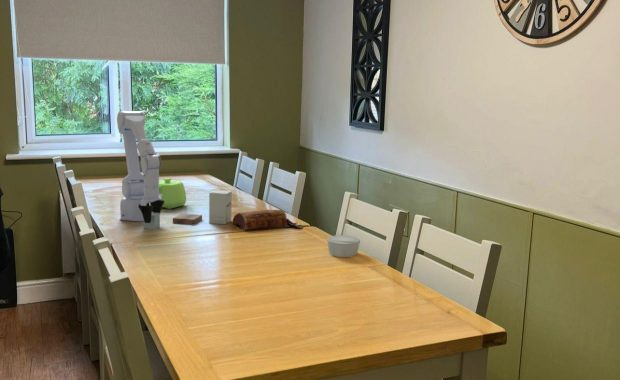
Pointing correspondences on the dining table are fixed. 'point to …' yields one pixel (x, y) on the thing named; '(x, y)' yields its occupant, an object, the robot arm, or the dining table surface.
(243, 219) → the cured meat
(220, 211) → the supplement box
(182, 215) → the walnut slab
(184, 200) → the teapot
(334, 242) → the ramekin
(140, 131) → the robot arm
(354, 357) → the dining table surface
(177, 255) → the dining table surface
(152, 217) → the pale grey block
